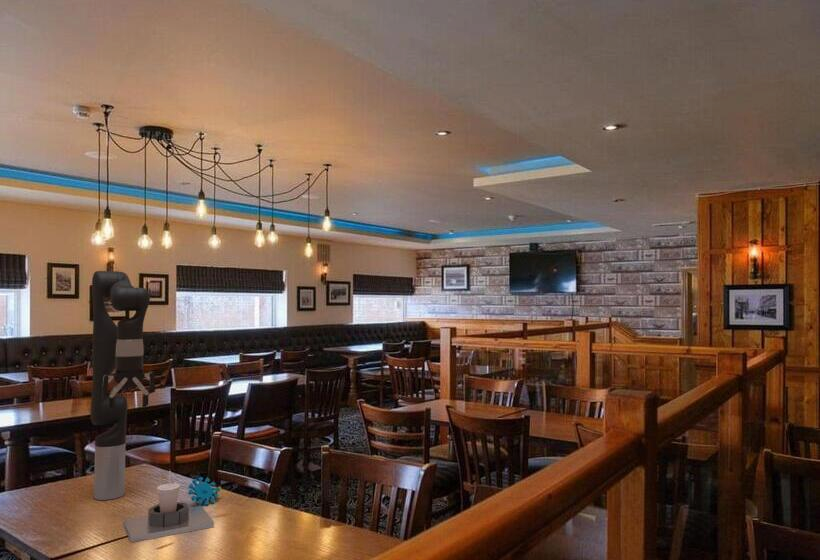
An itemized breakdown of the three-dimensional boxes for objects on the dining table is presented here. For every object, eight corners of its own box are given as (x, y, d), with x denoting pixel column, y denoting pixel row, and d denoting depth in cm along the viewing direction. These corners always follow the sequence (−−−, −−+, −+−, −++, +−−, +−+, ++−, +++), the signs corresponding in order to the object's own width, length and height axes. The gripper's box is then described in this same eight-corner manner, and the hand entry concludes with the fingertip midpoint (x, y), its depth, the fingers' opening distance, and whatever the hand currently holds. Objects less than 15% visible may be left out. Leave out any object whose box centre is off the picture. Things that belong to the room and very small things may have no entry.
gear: (192, 504, 189) (186, 476, 195) (185, 515, 192) (179, 487, 198) (225, 501, 196) (219, 474, 203) (218, 511, 199) (211, 484, 205)
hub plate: (123, 523, 177) (123, 506, 177) (201, 510, 188) (201, 494, 189) (130, 542, 163) (130, 523, 163) (213, 527, 175) (214, 509, 175)
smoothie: (184, 517, 178) (184, 469, 178) (169, 525, 172) (170, 475, 172) (166, 515, 180) (166, 467, 180) (151, 522, 174) (151, 473, 174)
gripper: (153, 352, 188) (152, 404, 187) (101, 354, 180) (100, 409, 180) (157, 354, 181) (156, 408, 181) (104, 356, 174) (103, 413, 173)
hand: (128, 408), depth 180 cm, fingers open, 8 cm apart
